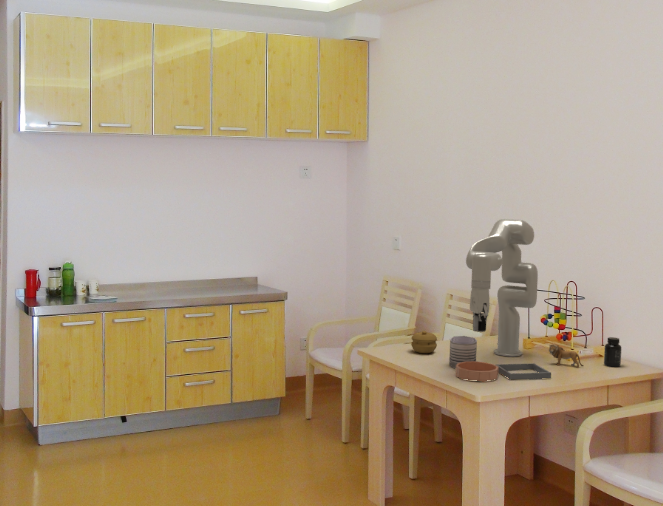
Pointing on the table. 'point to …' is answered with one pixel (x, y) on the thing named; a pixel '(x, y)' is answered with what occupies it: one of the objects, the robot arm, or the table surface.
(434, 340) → the pot
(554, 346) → the lion figurine
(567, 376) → the table surface
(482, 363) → the bowl
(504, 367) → the tray
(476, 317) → the grey cylinder
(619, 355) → the supplement bottle
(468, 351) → the can
